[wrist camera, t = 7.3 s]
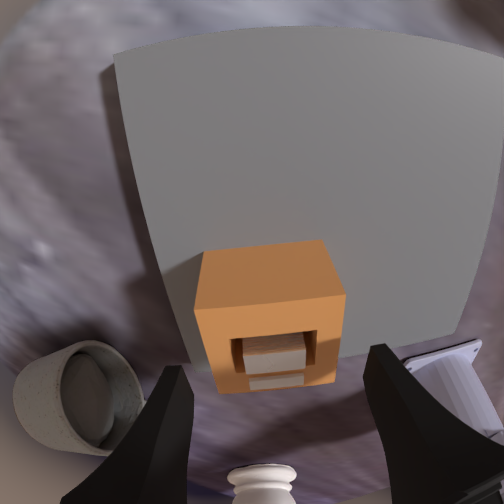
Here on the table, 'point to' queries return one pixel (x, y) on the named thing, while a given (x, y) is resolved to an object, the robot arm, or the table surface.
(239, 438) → the table surface
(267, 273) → the orange cubby crate
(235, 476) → the cherub figurine
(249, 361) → the grey cubby insert
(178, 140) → the board
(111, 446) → the ceramic mug
